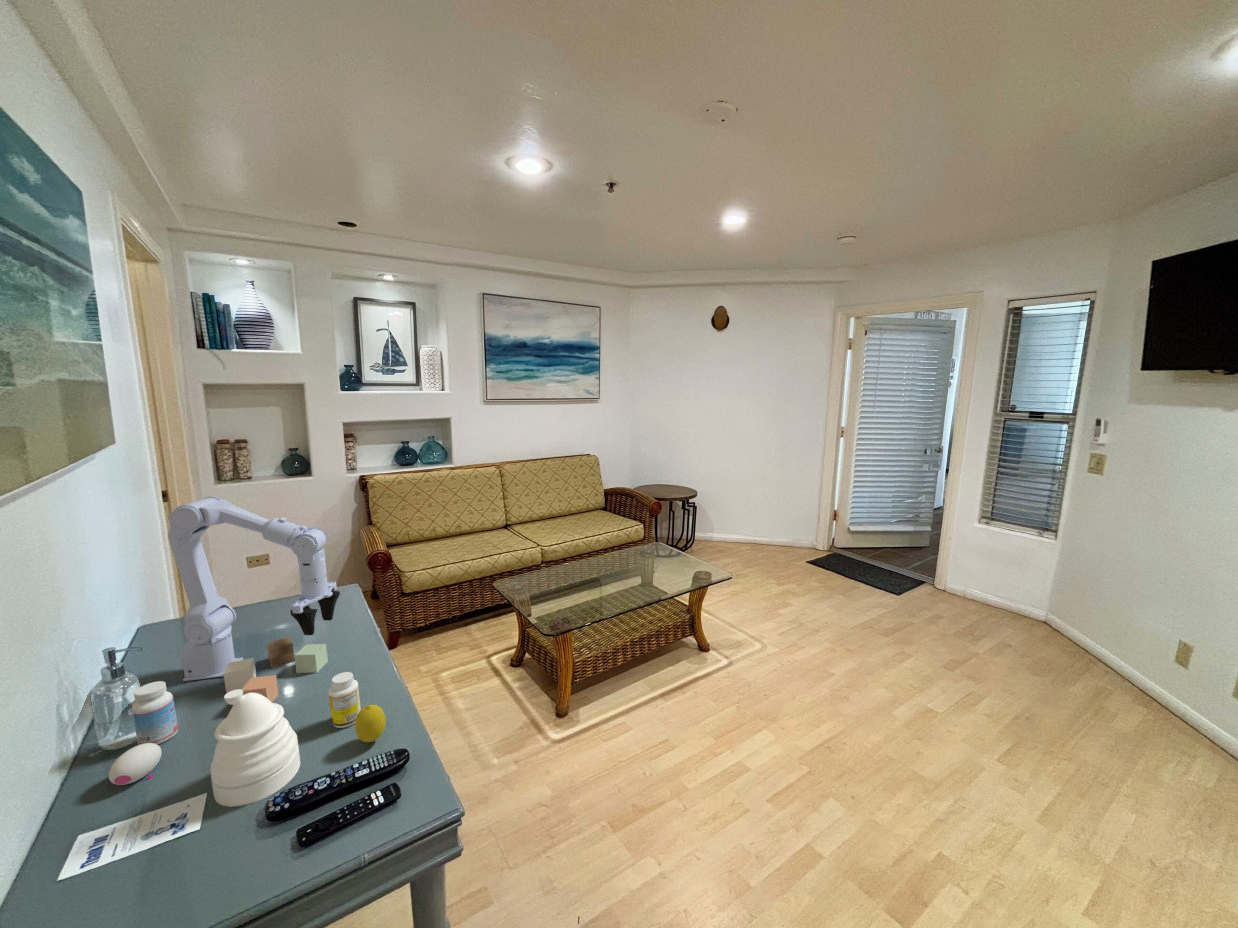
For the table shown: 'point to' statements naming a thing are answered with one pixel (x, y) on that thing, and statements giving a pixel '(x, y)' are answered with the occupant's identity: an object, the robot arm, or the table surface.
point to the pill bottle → (154, 714)
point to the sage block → (311, 658)
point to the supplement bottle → (344, 700)
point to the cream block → (239, 674)
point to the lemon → (370, 723)
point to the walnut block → (280, 652)
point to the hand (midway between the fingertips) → (318, 626)
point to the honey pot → (252, 751)
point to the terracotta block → (262, 687)
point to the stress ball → (135, 764)
